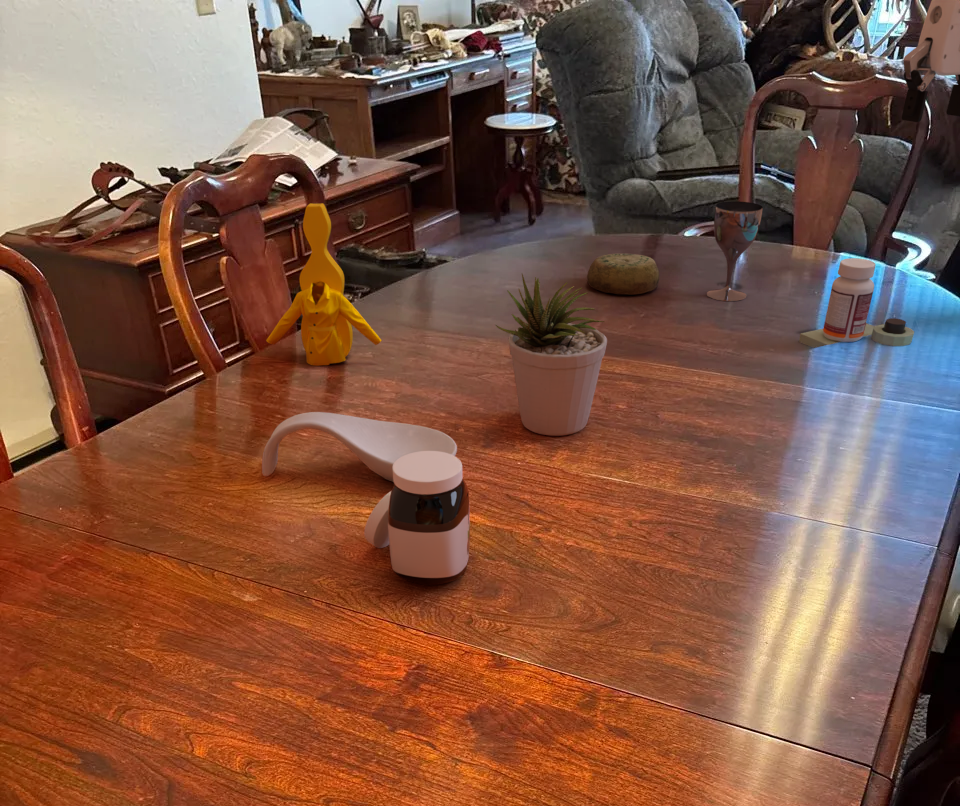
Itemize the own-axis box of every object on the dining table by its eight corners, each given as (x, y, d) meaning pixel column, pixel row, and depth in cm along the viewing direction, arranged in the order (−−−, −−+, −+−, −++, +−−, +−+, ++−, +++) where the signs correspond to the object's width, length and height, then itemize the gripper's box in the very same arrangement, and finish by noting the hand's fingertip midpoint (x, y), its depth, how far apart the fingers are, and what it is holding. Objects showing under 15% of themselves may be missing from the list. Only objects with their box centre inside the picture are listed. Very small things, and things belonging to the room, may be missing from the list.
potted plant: (522, 398, 136) (525, 251, 124) (614, 414, 131) (626, 263, 119) (483, 431, 126) (482, 276, 115) (581, 450, 122) (590, 290, 110)
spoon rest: (459, 452, 122) (458, 398, 117) (455, 495, 112) (454, 439, 108) (275, 451, 122) (267, 398, 118) (255, 494, 113) (246, 438, 108)
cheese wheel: (619, 271, 186) (621, 244, 183) (674, 286, 178) (677, 258, 175) (571, 285, 179) (573, 258, 176) (626, 301, 171) (629, 273, 168)
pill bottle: (859, 331, 153) (876, 257, 146) (864, 344, 148) (882, 269, 141) (820, 329, 154) (834, 256, 147) (823, 342, 149) (839, 267, 142)
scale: (856, 328, 158) (861, 310, 156) (917, 351, 149) (922, 332, 148) (798, 342, 153) (801, 323, 151) (857, 366, 144) (861, 346, 143)
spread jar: (458, 597, 95) (456, 492, 88) (349, 587, 96) (338, 483, 90) (480, 537, 104) (478, 438, 97) (379, 528, 106) (371, 431, 99)
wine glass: (704, 287, 177) (715, 200, 168) (748, 289, 176) (762, 202, 167) (703, 300, 171) (715, 210, 162) (749, 302, 170) (763, 212, 161)
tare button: (892, 328, 150) (895, 316, 149) (907, 333, 148) (910, 322, 147) (878, 331, 149) (881, 320, 148) (893, 336, 147) (896, 325, 146)
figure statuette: (266, 367, 146) (244, 213, 133) (277, 349, 152) (257, 201, 139) (381, 368, 145) (370, 214, 132) (387, 350, 152) (377, 201, 139)
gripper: (946, -18, 128) (913, 126, 138) (1031, -21, 134) (993, 116, 144) (902, -19, 133) (873, 119, 143) (985, -22, 139) (952, 110, 150)
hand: (933, 118), depth 144 cm, fingers open, 9 cm apart
